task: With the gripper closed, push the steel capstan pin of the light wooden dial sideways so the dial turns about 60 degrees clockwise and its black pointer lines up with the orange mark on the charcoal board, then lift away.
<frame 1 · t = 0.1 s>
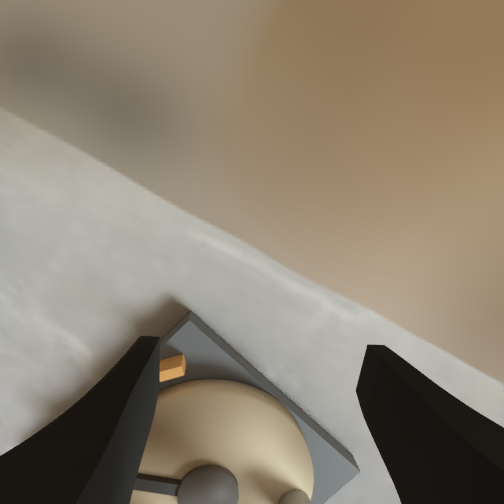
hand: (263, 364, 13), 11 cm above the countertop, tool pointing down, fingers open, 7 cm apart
dial board: (209, 450, 25), on the countertop
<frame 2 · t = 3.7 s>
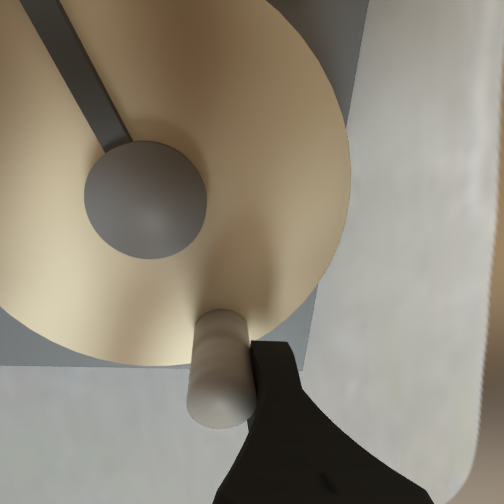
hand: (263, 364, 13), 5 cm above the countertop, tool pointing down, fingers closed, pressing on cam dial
dial board: (163, 180, 15), on the countertop
cam dial: (143, 208, 11), point 4 cm above the countertop, hinge at -2.3°, touching gripper
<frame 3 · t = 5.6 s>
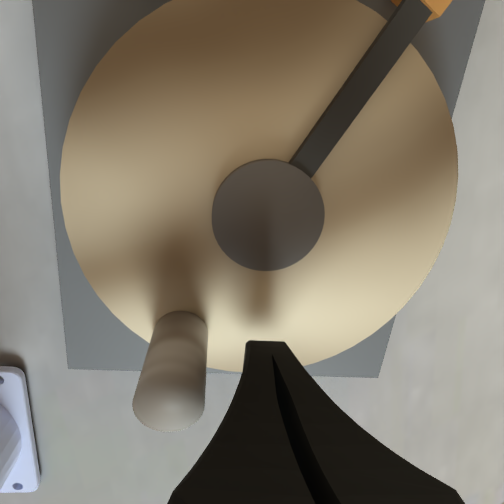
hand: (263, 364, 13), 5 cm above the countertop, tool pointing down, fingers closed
dial board: (257, 192, 15), on the countertop
cam dial: (270, 223, 11), point 4 cm above the countertop, hinge at -58.7°
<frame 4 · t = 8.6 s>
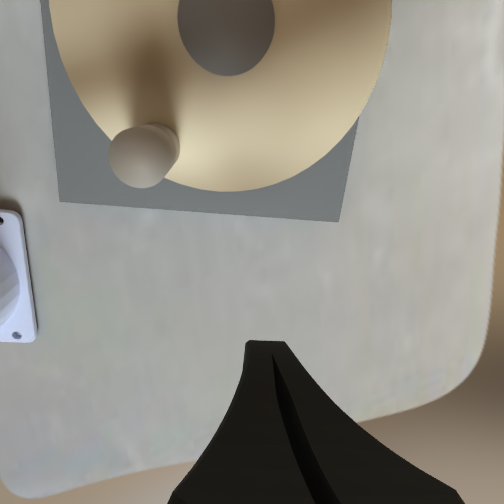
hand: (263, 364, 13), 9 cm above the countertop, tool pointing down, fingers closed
dial board: (225, 38, 17), on the countertop
cam dial: (226, 19, 13), point 4 cm above the countertop, hinge at -58.7°
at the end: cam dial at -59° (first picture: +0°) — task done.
